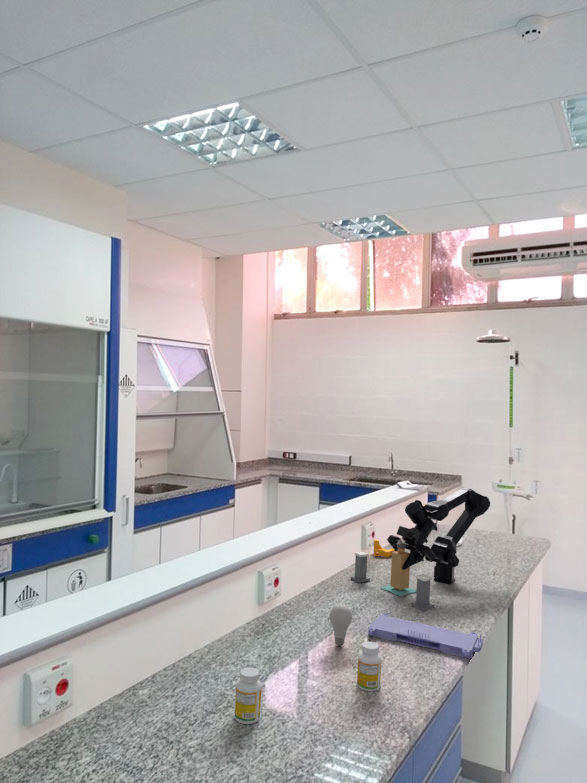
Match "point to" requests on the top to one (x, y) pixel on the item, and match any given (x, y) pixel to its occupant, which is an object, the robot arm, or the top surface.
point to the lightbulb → (340, 622)
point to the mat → (399, 592)
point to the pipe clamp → (381, 550)
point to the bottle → (399, 568)
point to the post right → (360, 567)
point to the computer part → (426, 636)
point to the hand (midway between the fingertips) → (397, 567)
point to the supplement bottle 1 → (248, 696)
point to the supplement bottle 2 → (369, 667)
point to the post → (423, 593)
